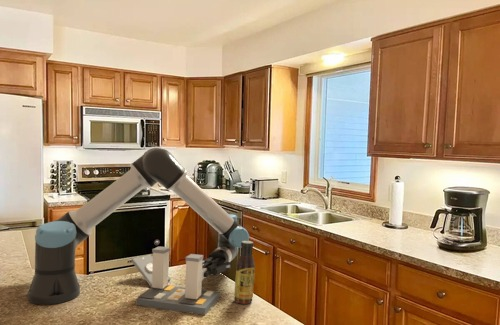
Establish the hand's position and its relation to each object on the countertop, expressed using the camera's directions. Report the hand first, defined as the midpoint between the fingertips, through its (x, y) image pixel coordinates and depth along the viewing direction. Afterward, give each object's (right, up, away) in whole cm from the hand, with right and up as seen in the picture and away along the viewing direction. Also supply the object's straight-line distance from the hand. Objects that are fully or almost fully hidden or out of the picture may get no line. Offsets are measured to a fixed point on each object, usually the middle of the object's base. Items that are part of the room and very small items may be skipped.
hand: (198, 277), depth 122 cm
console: (-6, -8, 0) cm, 10 cm away
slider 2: (-1, -5, -2) cm, 6 cm away
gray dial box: (-21, -7, +19) cm, 28 cm away
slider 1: (-14, -5, +6) cm, 16 cm away
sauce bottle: (+15, -9, +2) cm, 17 cm away
